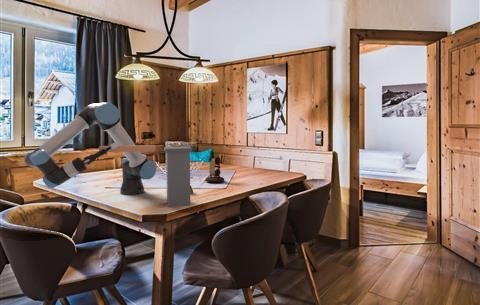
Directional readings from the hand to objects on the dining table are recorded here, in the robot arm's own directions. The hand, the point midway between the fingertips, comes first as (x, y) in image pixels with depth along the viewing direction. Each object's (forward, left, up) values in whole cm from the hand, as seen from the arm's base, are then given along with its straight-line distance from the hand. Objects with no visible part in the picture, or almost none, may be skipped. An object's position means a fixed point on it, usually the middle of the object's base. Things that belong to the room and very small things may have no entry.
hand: (117, 143), depth 165 cm
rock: (-26, +38, -35) cm, 58 cm away
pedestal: (0, +31, -35) cm, 47 cm away
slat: (0, +5, -4) cm, 7 cm away
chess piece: (-59, +65, -35) cm, 95 cm away
